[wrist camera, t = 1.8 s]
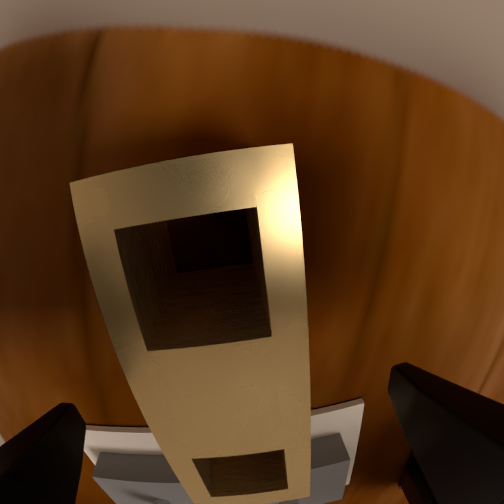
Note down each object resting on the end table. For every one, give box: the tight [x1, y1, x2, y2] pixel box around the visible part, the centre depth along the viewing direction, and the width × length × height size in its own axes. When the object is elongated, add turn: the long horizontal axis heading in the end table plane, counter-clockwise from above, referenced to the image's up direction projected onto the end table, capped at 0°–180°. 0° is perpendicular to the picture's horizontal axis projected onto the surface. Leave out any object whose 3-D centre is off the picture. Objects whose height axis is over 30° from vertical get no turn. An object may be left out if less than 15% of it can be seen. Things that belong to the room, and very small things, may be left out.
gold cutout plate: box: [70, 143, 311, 504], centre depth 10 cm, size 12×4×5 cm, turn 7°
